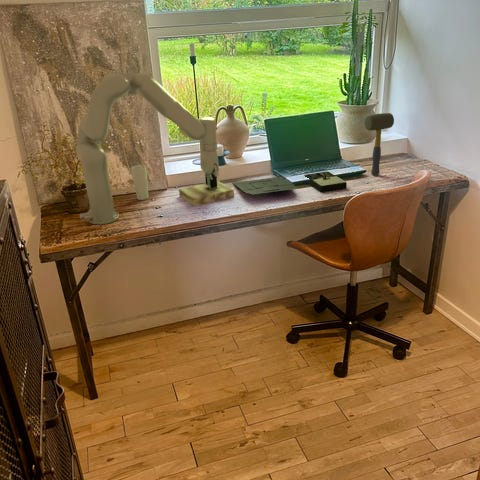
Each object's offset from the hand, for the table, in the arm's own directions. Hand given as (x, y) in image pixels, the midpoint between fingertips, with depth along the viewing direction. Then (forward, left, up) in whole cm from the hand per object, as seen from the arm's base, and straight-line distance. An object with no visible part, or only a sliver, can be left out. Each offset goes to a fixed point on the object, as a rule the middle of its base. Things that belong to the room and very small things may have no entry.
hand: (211, 185), depth 218 cm
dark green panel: (+24, -8, -5) cm, 25 cm away
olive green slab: (-3, 0, -5) cm, 6 cm away
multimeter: (+50, -20, -5) cm, 54 cm away
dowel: (0, 0, -3) cm, 3 cm away
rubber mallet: (+78, -24, -5) cm, 82 cm away
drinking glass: (-28, +16, -5) cm, 33 cm away
